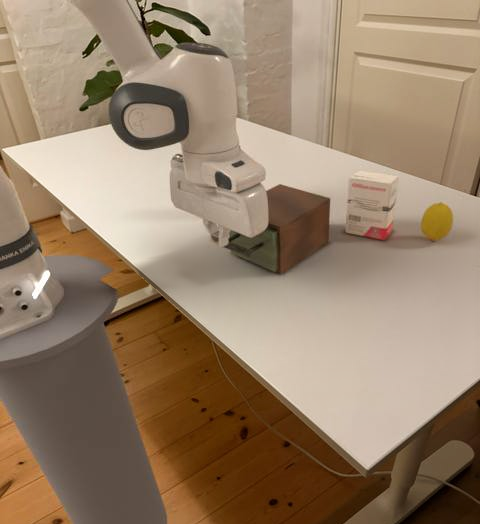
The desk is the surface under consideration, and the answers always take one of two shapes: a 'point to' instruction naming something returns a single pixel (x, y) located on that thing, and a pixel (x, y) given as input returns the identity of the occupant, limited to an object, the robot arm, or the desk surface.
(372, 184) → the ink box
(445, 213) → the lemon
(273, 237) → the drawer
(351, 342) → the desk surface
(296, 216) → the cabinet
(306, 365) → the desk surface
